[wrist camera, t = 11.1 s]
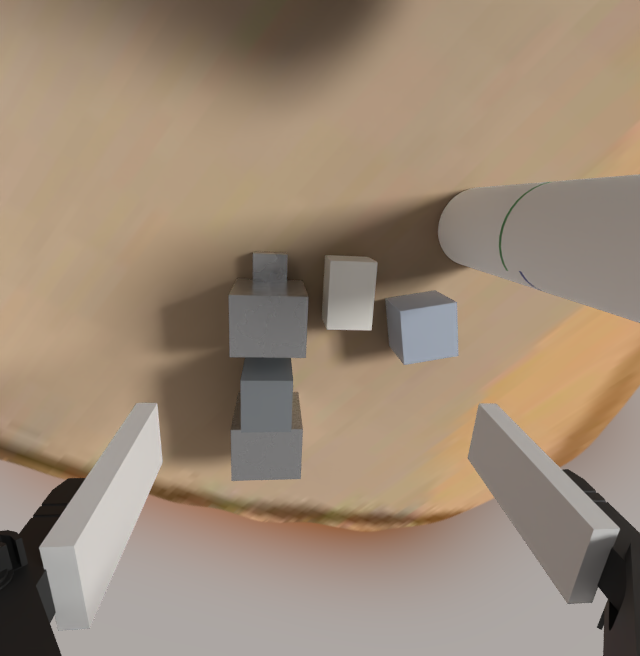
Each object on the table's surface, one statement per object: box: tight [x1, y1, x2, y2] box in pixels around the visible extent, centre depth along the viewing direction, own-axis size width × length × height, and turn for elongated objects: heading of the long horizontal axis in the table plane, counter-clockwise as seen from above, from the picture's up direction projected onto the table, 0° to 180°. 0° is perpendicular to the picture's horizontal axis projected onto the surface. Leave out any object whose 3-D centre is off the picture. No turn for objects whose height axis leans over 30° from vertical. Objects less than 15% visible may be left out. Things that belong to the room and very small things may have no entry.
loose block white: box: [322, 255, 378, 330], centre depth 36 cm, size 6×4×4 cm, turn 177°
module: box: [241, 357, 293, 433], centre depth 35 cm, size 5×4×7 cm
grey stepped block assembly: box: [229, 251, 308, 481], centre depth 36 cm, size 20×6×7 cm, turn 177°
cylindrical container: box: [438, 175, 640, 323], centre depth 26 cm, size 7×7×25 cm
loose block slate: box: [385, 290, 458, 365], centre depth 37 cm, size 5×5×5 cm
